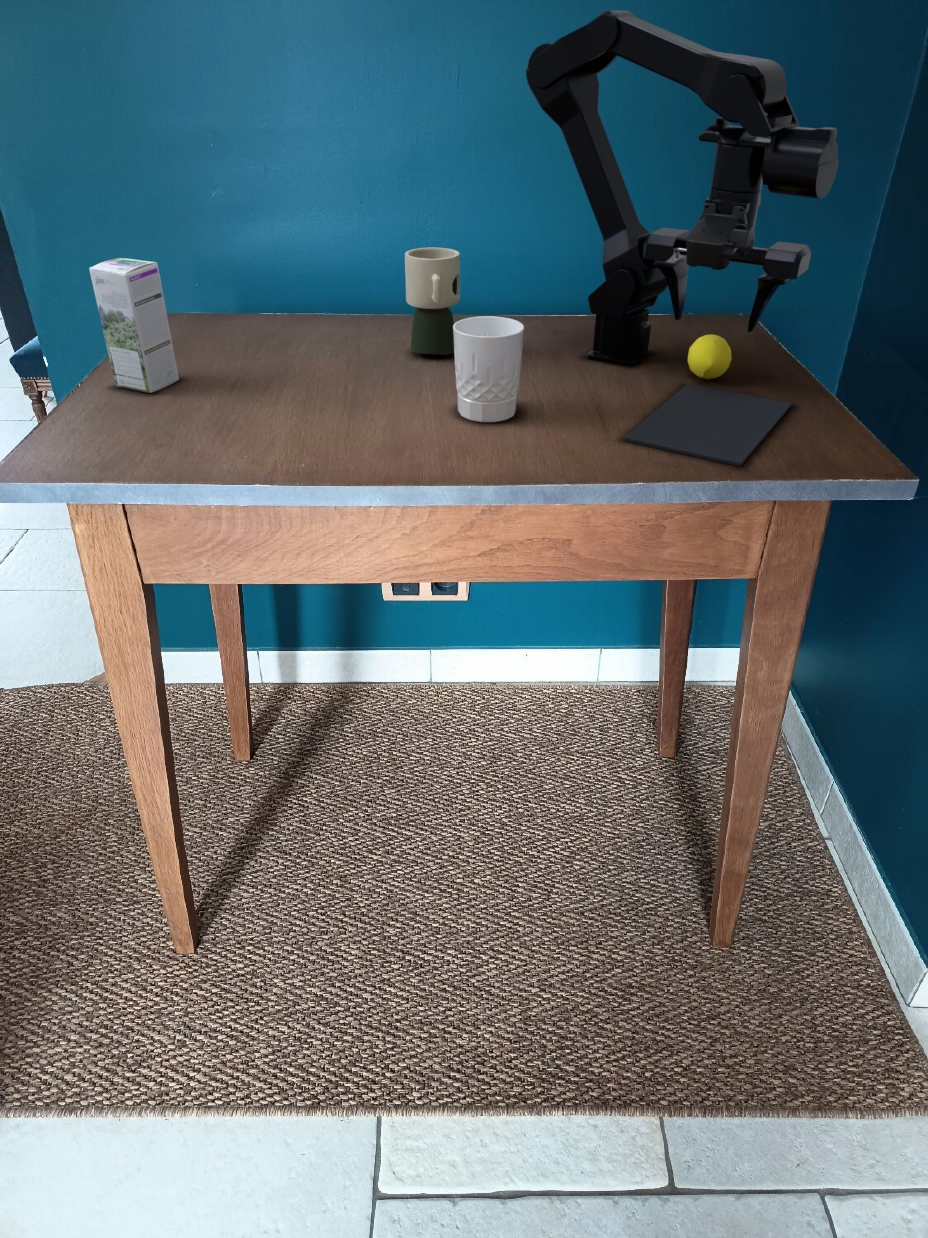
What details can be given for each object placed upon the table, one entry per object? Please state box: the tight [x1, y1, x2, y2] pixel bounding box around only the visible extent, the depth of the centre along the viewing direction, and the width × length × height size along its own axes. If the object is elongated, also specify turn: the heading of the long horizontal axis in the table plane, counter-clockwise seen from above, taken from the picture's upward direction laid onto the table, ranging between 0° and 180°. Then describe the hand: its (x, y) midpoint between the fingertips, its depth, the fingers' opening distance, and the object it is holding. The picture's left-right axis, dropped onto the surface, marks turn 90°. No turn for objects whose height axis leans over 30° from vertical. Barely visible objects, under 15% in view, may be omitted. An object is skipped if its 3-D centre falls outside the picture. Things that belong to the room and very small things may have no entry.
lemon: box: [687, 334, 732, 380], centre depth 116 cm, size 7×5×5 cm
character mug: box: [404, 246, 461, 357], centre depth 122 cm, size 11×7×13 cm, turn 8°
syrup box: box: [88, 257, 180, 394], centre depth 111 cm, size 6×6×14 cm
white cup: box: [453, 315, 525, 423], centre depth 105 cm, size 8×8×10 cm
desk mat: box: [623, 383, 793, 467], centre depth 105 cm, size 13×20×1 cm, turn 149°
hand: (713, 325), depth 114 cm, fingers open, 9 cm apart
